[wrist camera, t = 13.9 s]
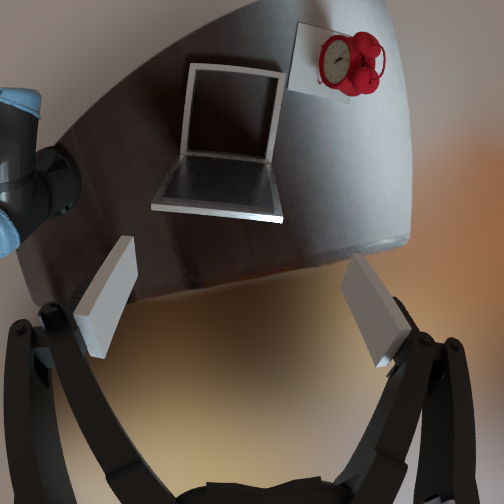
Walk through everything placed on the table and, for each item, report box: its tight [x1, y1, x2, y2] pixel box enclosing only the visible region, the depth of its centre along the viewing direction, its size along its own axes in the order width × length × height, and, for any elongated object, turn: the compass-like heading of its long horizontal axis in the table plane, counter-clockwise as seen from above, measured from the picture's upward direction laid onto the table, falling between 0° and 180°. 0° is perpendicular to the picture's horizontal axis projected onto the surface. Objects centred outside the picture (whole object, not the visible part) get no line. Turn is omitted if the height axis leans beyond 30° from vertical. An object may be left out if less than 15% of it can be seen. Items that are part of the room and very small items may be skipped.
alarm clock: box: [319, 32, 386, 96], centre depth 31 cm, size 10×6×15 cm, turn 178°
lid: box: [151, 155, 283, 223], centre depth 37 cm, size 15×16×1 cm
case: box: [180, 63, 286, 164], centre depth 40 cm, size 15×16×3 cm
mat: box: [287, 23, 350, 104], centre depth 37 cm, size 11×13×1 cm
